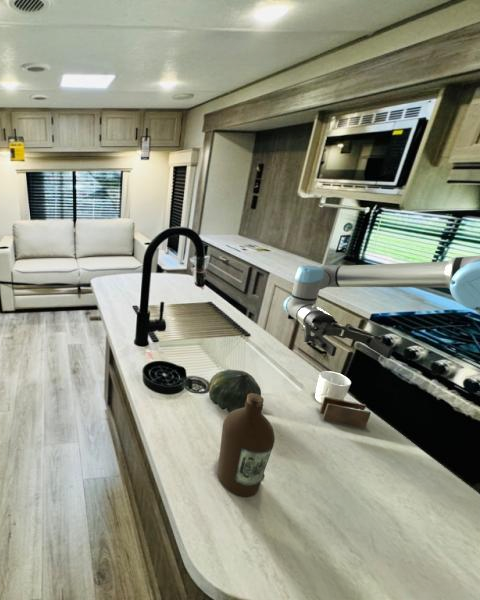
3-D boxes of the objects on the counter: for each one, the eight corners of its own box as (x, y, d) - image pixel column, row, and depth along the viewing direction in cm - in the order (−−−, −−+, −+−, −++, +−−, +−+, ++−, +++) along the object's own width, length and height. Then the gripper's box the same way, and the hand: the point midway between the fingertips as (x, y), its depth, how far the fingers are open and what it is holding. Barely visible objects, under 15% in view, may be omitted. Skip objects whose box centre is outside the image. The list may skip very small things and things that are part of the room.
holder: (357, 421, 94) (364, 403, 92) (364, 433, 90) (371, 414, 88) (318, 413, 98) (323, 395, 95) (322, 424, 94) (328, 405, 91)
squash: (210, 371, 111) (215, 358, 99) (256, 381, 106) (268, 369, 93) (204, 411, 106) (209, 402, 93) (253, 424, 101) (265, 417, 88)
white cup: (339, 400, 103) (348, 375, 100) (344, 415, 97) (353, 388, 94) (311, 393, 107) (318, 368, 104) (313, 406, 101) (321, 381, 97)
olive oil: (206, 463, 82) (220, 384, 73) (245, 460, 82) (263, 381, 73) (227, 502, 72) (246, 416, 63) (271, 498, 73) (296, 412, 64)
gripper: (278, 308, 104) (314, 338, 84) (361, 311, 100) (419, 342, 81) (274, 329, 106) (308, 362, 87) (354, 331, 103) (408, 367, 83)
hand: (361, 353), depth 84 cm, fingers open, 13 cm apart
